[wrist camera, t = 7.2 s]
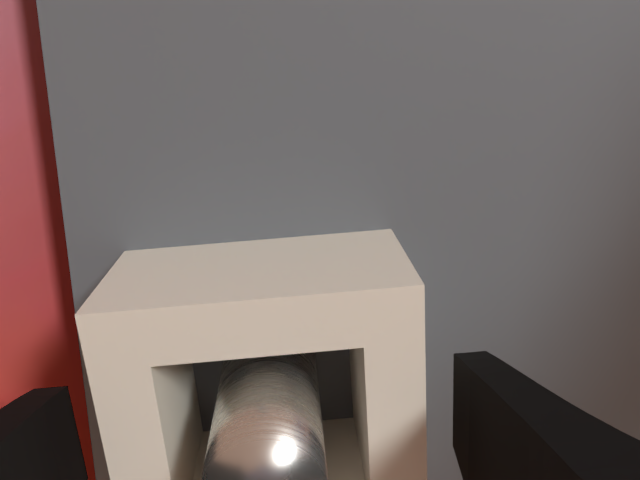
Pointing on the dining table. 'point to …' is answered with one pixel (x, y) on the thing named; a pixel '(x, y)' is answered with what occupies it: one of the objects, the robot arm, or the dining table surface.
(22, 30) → the dining table surface
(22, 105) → the dining table surface
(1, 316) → the dining table surface
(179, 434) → the ring
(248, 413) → the piston
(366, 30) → the board
